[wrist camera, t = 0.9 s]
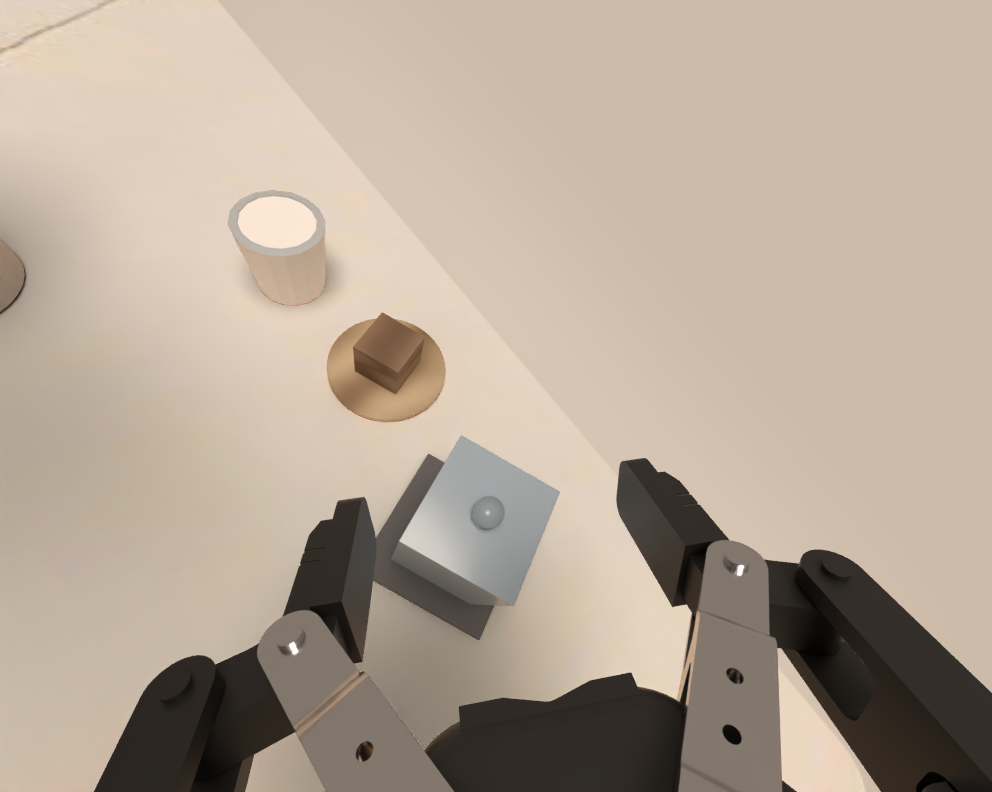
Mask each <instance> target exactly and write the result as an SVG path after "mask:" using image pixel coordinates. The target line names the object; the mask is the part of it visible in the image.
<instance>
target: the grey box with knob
mask: <svg viewBox="0 0 992 792" xmlns="http://www.w3.org/2000/svg"><path fill="white" fill-rule="evenodd" d="M559 493H560V492H559V491H558V490H556V489H554V488H552V487H551V486H549V485H547V484H545V483H544V482H542V481H540V480H539V479H537V478H535V477H533V476H532V475H530V474H528V473H526V472H525V471H523V470H521V469H519V468H518V467H516V466H514V465H512V464H511V463H509V462H507V461H505V460H504V459H502V458H500V457H498V456H497V455H495V454H493V453H492V452H490V451H488V450H486V449H485V448H483V447H481V446H479V445H478V444H476V443H474V442H472V441H471V440H469V439H467V438H465V437H464V436H462V435H461V436H460V438H459V440H458V441H457V443H456V445H455V446H454V448H453V450H452V451H451V453H450V455H449V457H448V458H447V460H446V462H445V463H444V465H443V467H442V469H441V470H440V472H439V474H438V475H437V477H436V479H435V481H434V482H433V484H432V486H431V487H430V489H429V491H428V492H427V494H426V496H425V498H424V499H423V501H422V503H421V504H420V506H419V508H418V510H417V511H416V513H415V515H414V516H413V518H412V520H411V521H410V523H409V525H408V527H407V528H406V530H405V532H404V533H403V535H402V537H401V539H400V540H399V542H398V544H397V547H396V549H395V551H394V553H393V555H392V558H391V560H393V561H394V562H396V563H398V564H400V565H401V566H403V567H405V568H407V569H408V570H410V571H412V572H414V573H415V574H417V575H419V576H421V577H423V578H424V579H426V580H428V581H430V582H431V583H433V584H435V585H437V586H438V587H440V588H442V589H444V590H445V591H447V592H449V593H451V594H452V595H454V596H456V597H458V598H459V599H461V600H463V601H465V602H466V603H468V604H476V605H497V606H514V604H515V601H516V599H517V596H518V594H519V591H520V589H521V586H522V584H523V581H524V579H525V577H526V574H527V572H528V569H529V567H530V564H531V562H532V559H533V557H534V555H535V552H536V550H537V547H538V545H539V542H540V540H541V537H542V535H543V532H544V530H545V528H546V525H547V523H548V520H549V518H550V515H551V513H552V510H553V508H554V506H555V503H556V501H557V498H558V496H559Z"/></svg>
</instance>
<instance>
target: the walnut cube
mask: <svg viewBox="0 0 992 792" xmlns="http://www.w3.org/2000/svg"><path fill="white" fill-rule="evenodd" d="M424 338H425V337H424V336H422V335H421V334H419V333H417V332H415V331H414V330H412V329H410V328H408V327H407V326H405V325H403V324H402V323H400V322H398V321H396V320H395V319H393V318H391V317H389V316H388V315H386V314H384V313H381V314H380V315H379V317H378V318H377V319H376V320H375V321H374V323H373V324H372V325H371V326H370V327H369V328H368V330H367V331H366V332H365V333H364V334H363V335H362V337H361V338H360V339H359V340H358V341H357V342H356V344H355V345H354V346H353V354H354V367H355V372H357V373H359V374H361V375H362V376H364V377H366V378H368V379H369V380H371V381H373V382H375V383H376V384H378V385H380V386H381V387H383V388H385V389H387V390H388V391H390V392H392V393H394V394H395V395H396V394H397V392H398V391H399V389H400V388H401V387H402V385H403V384H404V382H405V381H406V380H407V378H408V377H409V376H410V374H411V373H412V371H413V370H414V369H415V367H416V366H417V364H418V363H419V362H420V358H421V353H422V348H423V343H424Z"/></svg>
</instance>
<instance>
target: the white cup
mask: <svg viewBox="0 0 992 792" xmlns="http://www.w3.org/2000/svg"><path fill="white" fill-rule="evenodd" d="M228 225H229V228H230V230H231V232H232V235H233V237H234V239H235V241H236V243H237V245H238V247H239V248H240V250H241V252H242V254H243V256H244V258H245V260H246V262H247V264H248V266H249V268H250V269H251V271H252V273H253V275H254V277H255V279H256V281H257V283H258V285H259V287H260V289H261V290H262V292H263V293H264V294H265V295H266V296H267V297H268V298H270V299H271V300H273V301H275V302H278V303H280V304H283V305H301V304H305V303H309V302H311V301H312V300H314V299H315V298H317V297H318V296H320V294H321V292H322V291H323V289H324V288H325V220H324V218H323V216H322V214H321V212H320V210H319V208H317V207H316V206H315V205H314V204H313V203H311V202H310V201H309V200H308V199H306V198H303V197H301V196H298V195H296V194H294V193H291V192H283V191H275V190H271V191H264V192H256V193H253V194H251V195H249V196H247V197H245V198H242V199H240V200H239V201H238V202H237V203H236V205H235V206H234V207H233V208H232V209H231V210H230V214H229V220H228Z"/></svg>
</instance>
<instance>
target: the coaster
mask: <svg viewBox="0 0 992 792" xmlns="http://www.w3.org/2000/svg"><path fill="white" fill-rule="evenodd" d="M375 320H376V319H372V320H367V321H364V322H361V323H358V324H356V325H354V326H352V327H350V328H349V329H347V330H346V331H345V332H343V333H342V334H341V335H340V336H339V337H338V339H337V340H336V341H335V343H334V344H333V346H332V348H331V350H330V353H329V356H328V361H327V373H328V379H329V382H330V386H331V388H332V390H333V392H334V394H335V395H336V397H337V398H338V399H339V401H340V402H341V403H342V404H343V405H344V406H346V407H347V408H348V409H349V410H351V411H352V412H354V413H356V414H358V415H360V416H362V417H365V418H367V419H371V420H375V421H383V422H393V421H400V420H405V419H408V418H411V417H413V416H416V415H418V414H419V413H421V412H423V411H424V410H425V409H427V408H428V407H429V406H430V405H431V404H432V403H433V402H434V401H435V399H436V398H437V396H438V395H439V393H440V391H441V388H442V386H443V382H444V378H445V363H444V359H443V356H442V353H441V351H440V349H439V347H438V345H437V344H436V343H435V341H434V340H433V339H432V338H431V337H430V336H429V335H428V334H427V333H426V332H424V331H423V330H421V329H420V328H418V327H417V326H415V325H413V324H410V323H408V322H405V321H401V320H397V319H395V320H396V321H398V322H400V323H402V324H403V325H405V326H407V327H408V328H410V329H412V330H414V331H415V332H417V333H419V334H421V335H422V336H424V337H425V338H424V343H423V348H422V353H421V358H420V362H419V363H418V364H417V366H416V367H415V369H414V370H413V371H412V373H411V374H410V376H409V377H408V378H407V380H406V381H405V382H404V384H403V385H402V387H401V388H400V389H399V391H398V392H397V394H396V395H395V394H394V393H392V392H390V391H388V390H387V389H385V388H383V387H381V386H380V385H378V384H376V383H375V382H373V381H371V380H369V379H368V378H366V377H364V376H362V375H361V374H359V373H357V372H355V367H354V354H353V346H354V345H355V344H356V342H357V341H358V340H359V339H360V338H361V337H362V335H363V334H364V333H365V332H366V331H367V330H368V328H369V327H370V326H371V325H372V324H373V323H374V321H375Z"/></svg>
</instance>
